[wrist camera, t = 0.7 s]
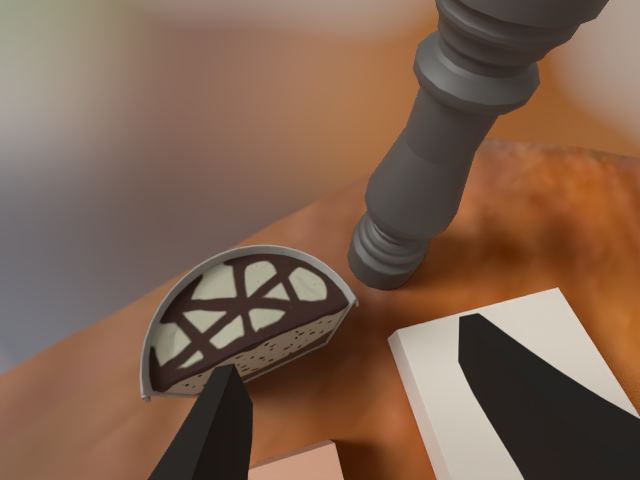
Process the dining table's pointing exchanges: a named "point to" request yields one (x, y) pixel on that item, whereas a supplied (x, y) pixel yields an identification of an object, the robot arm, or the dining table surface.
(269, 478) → the cube
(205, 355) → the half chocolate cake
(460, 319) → the robot arm
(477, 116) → the candle holder
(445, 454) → the base
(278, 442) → the dining table surface
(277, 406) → the dining table surface
